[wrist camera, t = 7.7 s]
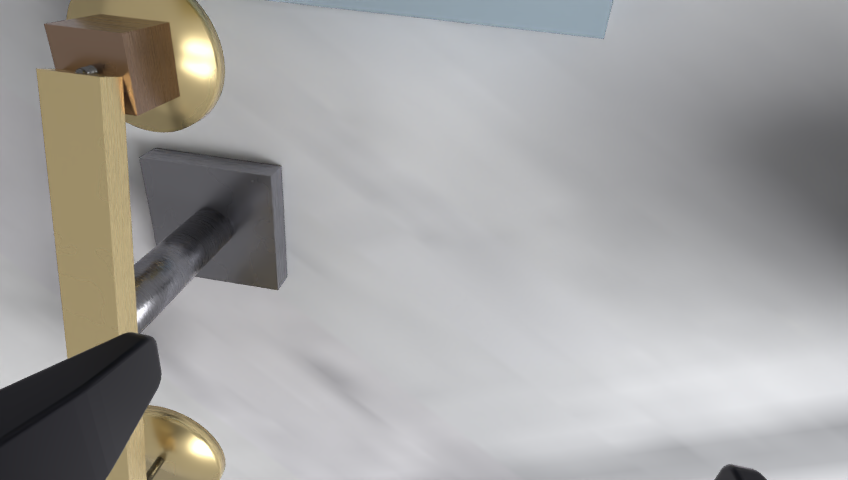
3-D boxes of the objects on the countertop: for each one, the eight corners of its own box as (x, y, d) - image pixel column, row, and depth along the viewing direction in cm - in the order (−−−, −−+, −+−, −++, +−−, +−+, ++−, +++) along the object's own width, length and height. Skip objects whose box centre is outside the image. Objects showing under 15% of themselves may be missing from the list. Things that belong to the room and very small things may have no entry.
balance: (271, -29, 16) (47, 0, 9) (292, 388, 26) (193, 587, 18) (121, -45, 17) (-222, -32, 9) (194, 370, 26) (55, 556, 18)
